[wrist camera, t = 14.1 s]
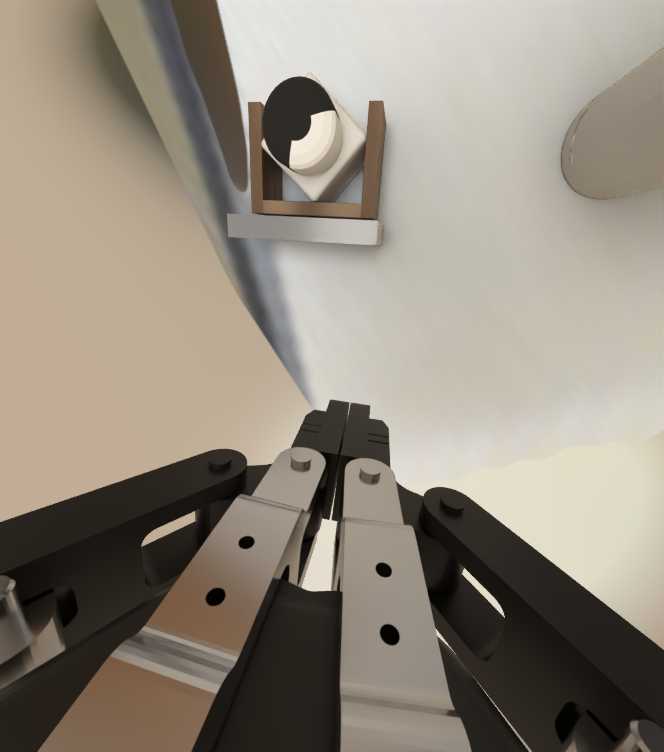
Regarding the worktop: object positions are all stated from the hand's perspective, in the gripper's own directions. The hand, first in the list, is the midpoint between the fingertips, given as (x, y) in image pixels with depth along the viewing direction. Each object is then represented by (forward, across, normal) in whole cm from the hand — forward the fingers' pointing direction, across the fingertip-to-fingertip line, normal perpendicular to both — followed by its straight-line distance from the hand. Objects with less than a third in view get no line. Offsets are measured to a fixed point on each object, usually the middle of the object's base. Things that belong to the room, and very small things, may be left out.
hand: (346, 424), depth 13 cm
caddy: (+31, +7, -14) cm, 34 cm away
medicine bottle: (+31, +7, -15) cm, 35 cm away
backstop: (+31, +7, -8) cm, 33 cm away
